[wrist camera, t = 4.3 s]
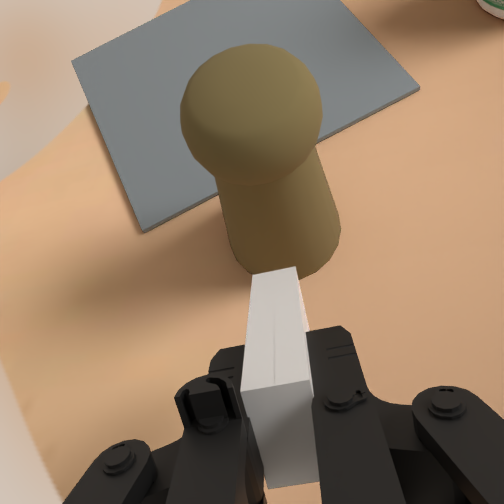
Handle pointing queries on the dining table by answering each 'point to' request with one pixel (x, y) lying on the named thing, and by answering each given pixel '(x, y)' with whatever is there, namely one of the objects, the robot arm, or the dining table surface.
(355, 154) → the dining table surface
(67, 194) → the dining table surface
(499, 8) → the supplement bottle
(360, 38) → the mat
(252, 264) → the cork
